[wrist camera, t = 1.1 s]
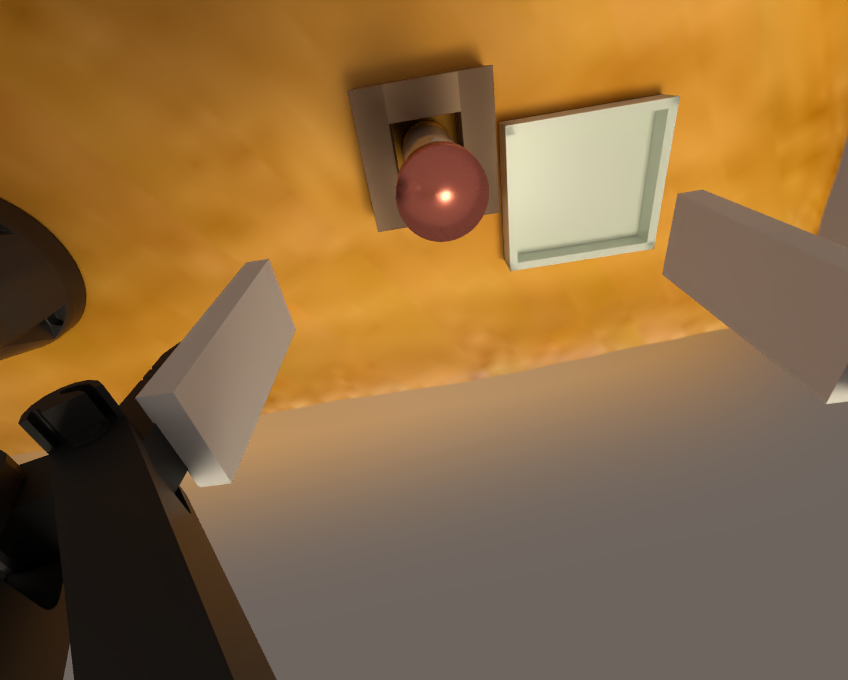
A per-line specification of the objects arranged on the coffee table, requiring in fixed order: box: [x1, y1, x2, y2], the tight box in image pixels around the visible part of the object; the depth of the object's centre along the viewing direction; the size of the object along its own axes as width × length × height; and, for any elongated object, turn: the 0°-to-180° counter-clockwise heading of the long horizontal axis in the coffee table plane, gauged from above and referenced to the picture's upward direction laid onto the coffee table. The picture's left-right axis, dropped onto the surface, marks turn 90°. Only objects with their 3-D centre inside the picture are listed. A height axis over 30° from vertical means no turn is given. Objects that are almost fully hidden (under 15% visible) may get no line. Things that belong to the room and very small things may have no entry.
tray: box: [499, 94, 680, 271], centre depth 35 cm, size 13×12×3 cm
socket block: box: [348, 65, 499, 232], centre depth 32 cm, size 10×10×4 cm
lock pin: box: [396, 121, 489, 242], centre depth 27 cm, size 5×5×16 cm
